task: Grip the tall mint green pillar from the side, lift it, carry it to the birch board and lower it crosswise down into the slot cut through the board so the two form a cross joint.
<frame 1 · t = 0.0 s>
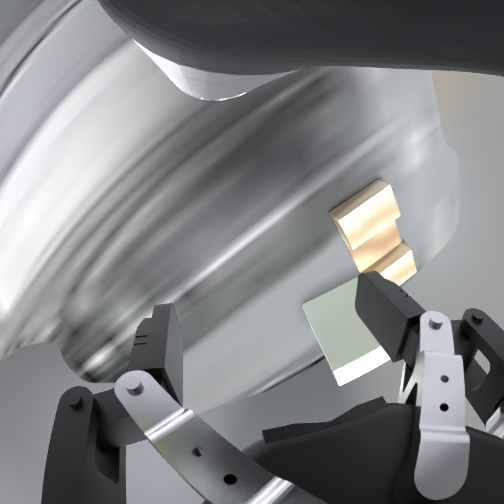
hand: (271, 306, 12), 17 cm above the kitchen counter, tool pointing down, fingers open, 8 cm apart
slot board: (374, 240, 32), on the kitchen counter
tall mint green pillar: (332, 300, 36), on the kitchen counter
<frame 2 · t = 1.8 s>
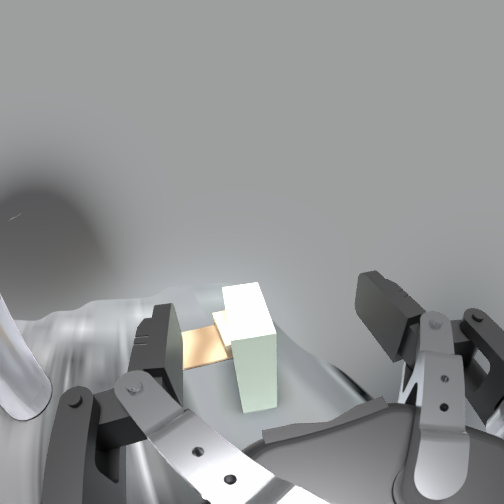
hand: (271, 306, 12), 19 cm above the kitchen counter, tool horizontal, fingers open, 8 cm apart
slot board: (200, 346, 36), on the kitchen counter
tall mint green pillar: (253, 383, 30), on the kitchen counter
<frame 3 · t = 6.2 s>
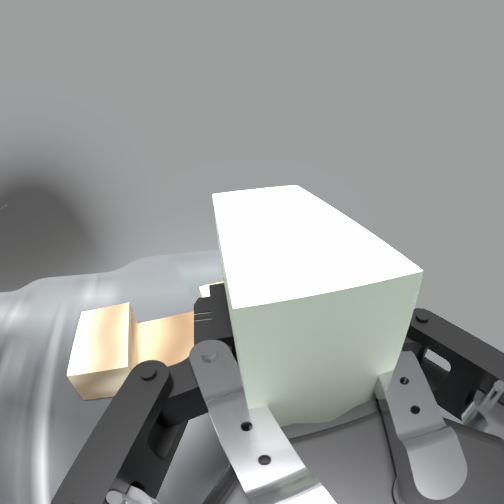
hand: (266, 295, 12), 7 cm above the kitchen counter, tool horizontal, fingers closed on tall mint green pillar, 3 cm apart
slot board: (176, 347, 19), on the kitchen counter
tall mint green pillar: (283, 424, 13), on the kitchen counter, touching gripper
when the fingers open (8 cm above the kitchen counter, at t = 10.5 s): tall mint green pillar drops 1 cm, resting on slot board.
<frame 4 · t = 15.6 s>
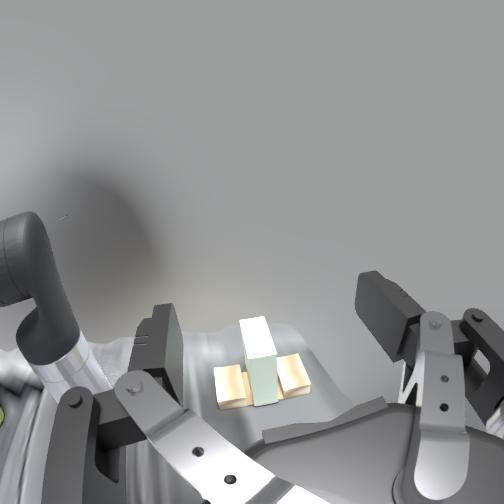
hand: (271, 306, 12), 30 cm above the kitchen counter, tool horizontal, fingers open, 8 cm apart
slot board: (261, 386, 42), on the kitchen counter
tall mint green pillar: (261, 385, 41), resting on slot board
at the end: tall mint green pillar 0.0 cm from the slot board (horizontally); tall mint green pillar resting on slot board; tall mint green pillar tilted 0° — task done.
